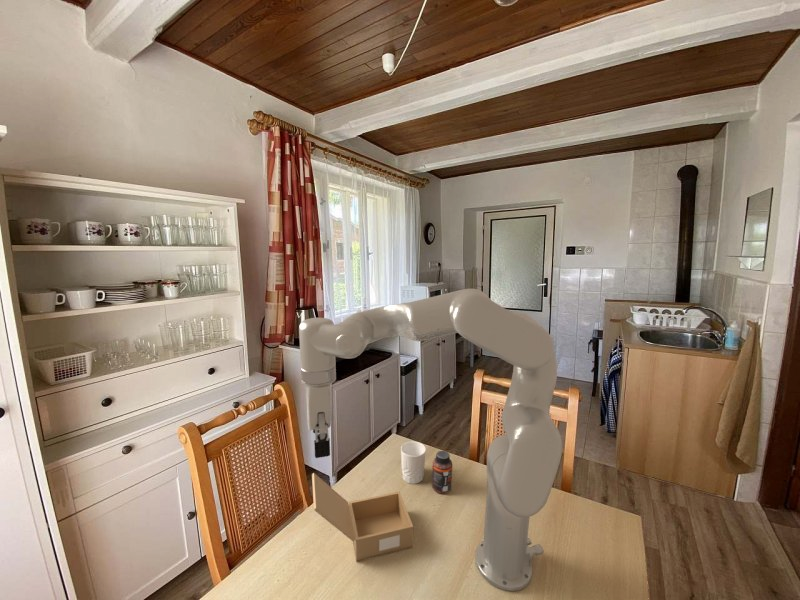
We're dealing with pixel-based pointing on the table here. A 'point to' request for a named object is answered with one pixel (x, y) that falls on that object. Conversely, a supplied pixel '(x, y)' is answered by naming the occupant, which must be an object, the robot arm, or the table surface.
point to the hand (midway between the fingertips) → (321, 443)
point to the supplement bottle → (442, 472)
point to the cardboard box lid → (332, 507)
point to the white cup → (413, 461)
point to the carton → (380, 526)
